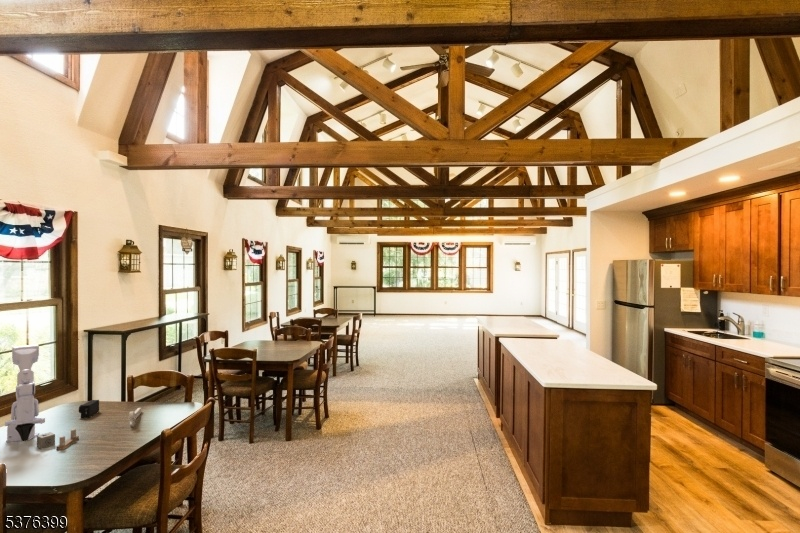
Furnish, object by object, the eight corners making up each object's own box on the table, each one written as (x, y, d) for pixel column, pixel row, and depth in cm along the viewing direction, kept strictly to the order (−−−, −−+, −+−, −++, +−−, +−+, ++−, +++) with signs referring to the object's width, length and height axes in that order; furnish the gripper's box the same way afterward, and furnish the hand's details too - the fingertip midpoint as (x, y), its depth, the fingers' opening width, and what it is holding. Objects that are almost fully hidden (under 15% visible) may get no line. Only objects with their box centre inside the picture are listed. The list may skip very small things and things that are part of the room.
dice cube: (36, 446, 190) (36, 435, 190) (50, 442, 195) (50, 432, 195) (41, 449, 188) (41, 437, 188) (54, 445, 192) (55, 434, 192)
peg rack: (56, 449, 187) (56, 438, 187) (71, 439, 198) (71, 428, 198) (64, 449, 187) (64, 438, 187) (78, 438, 199) (78, 428, 199)
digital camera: (88, 412, 237) (88, 400, 237) (99, 411, 238) (99, 399, 238) (78, 418, 227) (78, 405, 227) (89, 418, 228) (89, 405, 228)
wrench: (141, 417, 237) (132, 428, 210) (137, 417, 237) (127, 429, 209) (141, 402, 238) (132, 412, 211) (137, 403, 237) (128, 412, 210)
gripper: (0, 414, 184) (-1, 445, 184) (38, 411, 187) (37, 442, 187) (11, 409, 191) (10, 439, 191) (47, 406, 194) (47, 436, 194)
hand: (25, 440), depth 189 cm, fingers closed
